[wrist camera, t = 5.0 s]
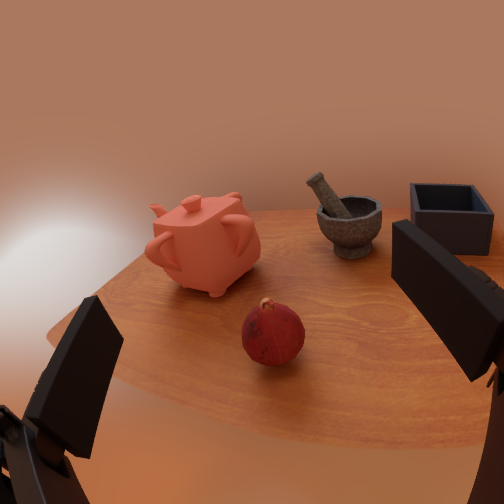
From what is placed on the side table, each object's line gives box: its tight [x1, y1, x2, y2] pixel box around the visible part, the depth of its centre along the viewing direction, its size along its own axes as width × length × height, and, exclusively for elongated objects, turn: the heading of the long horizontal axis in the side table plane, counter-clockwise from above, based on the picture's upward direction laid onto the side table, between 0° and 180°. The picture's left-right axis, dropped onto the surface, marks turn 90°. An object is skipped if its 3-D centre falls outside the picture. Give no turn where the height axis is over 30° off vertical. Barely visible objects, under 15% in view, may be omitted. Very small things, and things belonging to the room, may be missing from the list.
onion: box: [242, 298, 305, 366], centre depth 26 cm, size 6×6×8 cm
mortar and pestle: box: [306, 172, 382, 259], centre depth 40 cm, size 11×9×12 cm
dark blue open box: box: [410, 183, 494, 255], centre depth 37 cm, size 13×13×7 cm
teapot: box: [145, 192, 261, 297], centre depth 43 cm, size 17×16×13 cm
